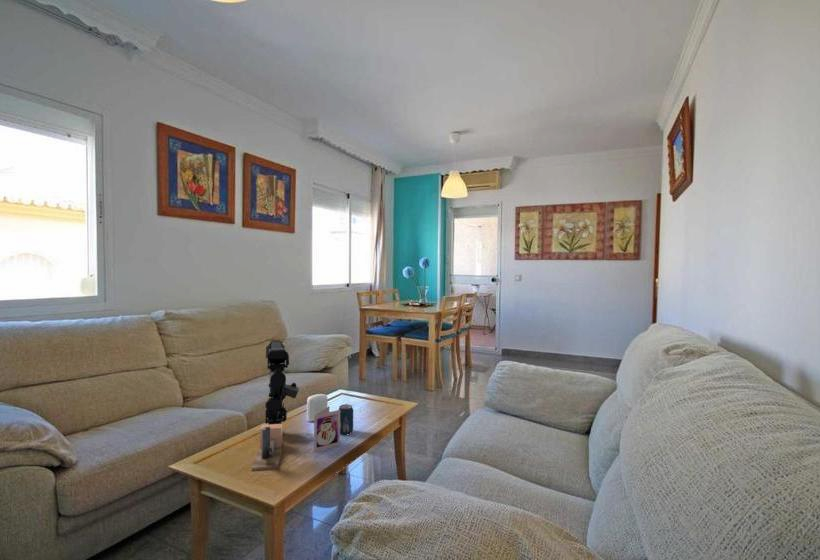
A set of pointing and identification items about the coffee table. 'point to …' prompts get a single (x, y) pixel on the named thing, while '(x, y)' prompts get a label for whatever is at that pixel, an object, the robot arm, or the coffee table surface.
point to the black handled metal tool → (266, 443)
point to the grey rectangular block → (272, 446)
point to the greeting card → (326, 429)
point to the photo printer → (315, 405)
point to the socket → (273, 434)
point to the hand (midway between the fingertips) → (276, 418)
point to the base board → (267, 464)
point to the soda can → (346, 419)
